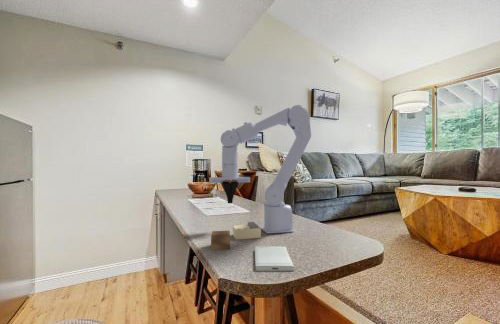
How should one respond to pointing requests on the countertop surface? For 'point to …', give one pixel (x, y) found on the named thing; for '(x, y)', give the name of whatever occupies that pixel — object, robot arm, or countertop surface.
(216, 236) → the stub block
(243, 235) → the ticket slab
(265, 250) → the hard drive
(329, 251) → the countertop surface
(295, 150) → the robot arm
